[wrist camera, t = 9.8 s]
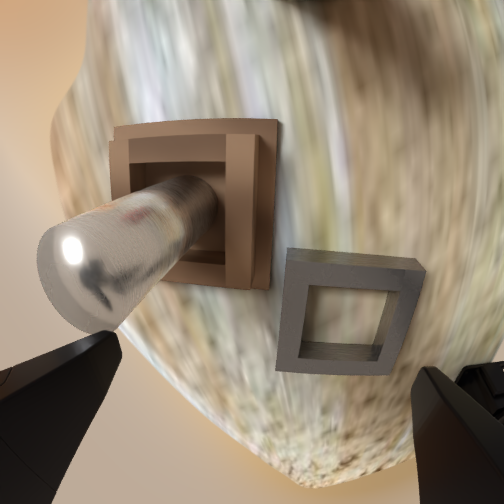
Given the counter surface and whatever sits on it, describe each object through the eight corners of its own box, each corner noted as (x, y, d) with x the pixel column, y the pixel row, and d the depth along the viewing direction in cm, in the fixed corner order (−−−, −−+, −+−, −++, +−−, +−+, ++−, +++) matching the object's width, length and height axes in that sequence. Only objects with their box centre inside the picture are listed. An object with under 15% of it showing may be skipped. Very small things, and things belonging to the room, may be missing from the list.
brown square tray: (269, 287, 20) (265, 305, 18) (128, 271, 21) (112, 285, 19) (277, 119, 16) (274, 116, 14) (117, 127, 17) (96, 127, 15)
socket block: (384, 358, 21) (389, 375, 19) (277, 353, 22) (275, 370, 20) (415, 258, 18) (426, 271, 16) (287, 247, 19) (286, 259, 17)
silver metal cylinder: (218, 237, 19) (135, 346, 9) (162, 233, 19) (53, 321, 9) (218, 175, 17) (112, 227, 7) (159, 175, 18) (27, 223, 8)
